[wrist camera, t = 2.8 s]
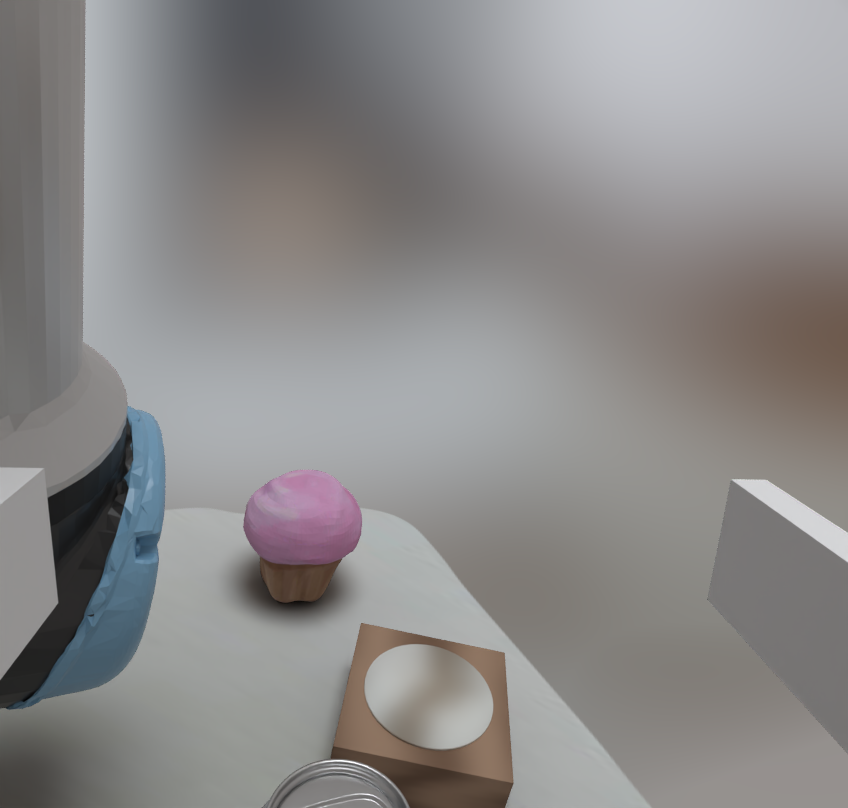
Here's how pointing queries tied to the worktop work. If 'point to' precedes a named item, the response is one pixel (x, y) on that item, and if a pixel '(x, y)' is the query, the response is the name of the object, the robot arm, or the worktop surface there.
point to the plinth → (429, 718)
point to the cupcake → (301, 532)
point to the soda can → (337, 787)
